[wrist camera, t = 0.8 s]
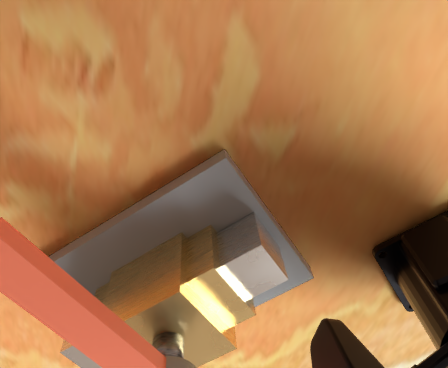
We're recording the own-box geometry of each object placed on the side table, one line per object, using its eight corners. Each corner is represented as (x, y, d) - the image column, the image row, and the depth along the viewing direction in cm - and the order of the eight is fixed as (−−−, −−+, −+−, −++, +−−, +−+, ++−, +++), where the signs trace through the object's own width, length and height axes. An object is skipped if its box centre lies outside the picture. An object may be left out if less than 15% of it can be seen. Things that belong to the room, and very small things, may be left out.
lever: (211, 380, 20) (212, 400, 19) (160, 403, 20) (158, 424, 19) (15, 207, 14) (3, 224, 13) (-47, 247, 15) (-61, 266, 14)
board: (309, 266, 26) (313, 277, 25) (134, 355, 29) (133, 367, 29) (224, 149, 22) (225, 157, 21) (28, 268, 25) (22, 280, 24)
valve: (285, 250, 25) (312, 341, 19) (116, 339, 28) (96, 440, 22) (242, 192, 23) (258, 275, 17) (62, 295, 26) (25, 395, 20)
